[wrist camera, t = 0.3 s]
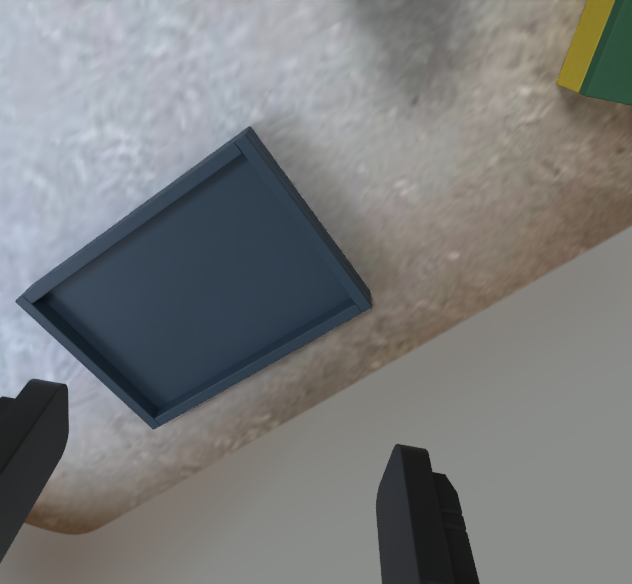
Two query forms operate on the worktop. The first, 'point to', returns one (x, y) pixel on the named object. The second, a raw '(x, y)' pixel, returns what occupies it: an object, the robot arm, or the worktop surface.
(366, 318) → the worktop surface
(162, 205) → the tray
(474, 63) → the worktop surface
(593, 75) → the sponge
